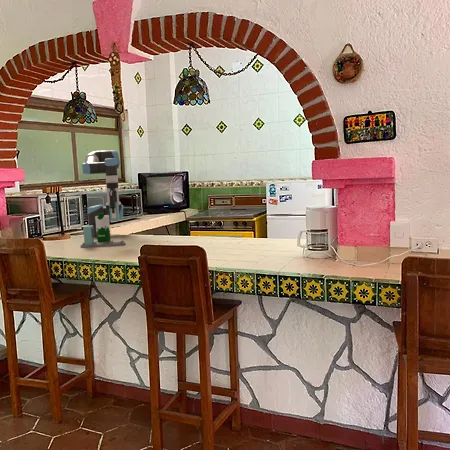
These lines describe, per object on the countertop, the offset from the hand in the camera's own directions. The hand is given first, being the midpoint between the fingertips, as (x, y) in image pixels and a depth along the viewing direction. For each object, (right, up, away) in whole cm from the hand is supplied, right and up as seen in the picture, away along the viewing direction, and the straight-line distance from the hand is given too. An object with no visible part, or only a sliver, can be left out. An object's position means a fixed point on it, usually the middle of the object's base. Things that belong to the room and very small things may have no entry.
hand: (114, 217), depth 316 cm
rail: (-8, -18, +2) cm, 20 cm away
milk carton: (-13, -16, +23) cm, 31 cm away
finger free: (0, -2, 0) cm, 2 cm away
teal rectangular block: (-17, -17, +2) cm, 25 cm away
